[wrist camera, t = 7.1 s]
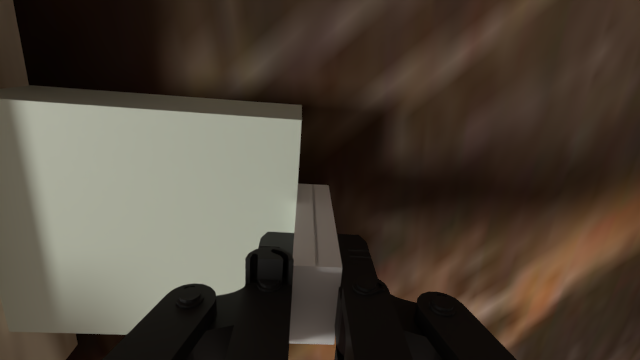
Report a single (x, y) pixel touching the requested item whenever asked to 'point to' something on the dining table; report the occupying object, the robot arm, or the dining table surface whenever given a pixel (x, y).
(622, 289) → the dining table surface
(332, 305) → the robot arm
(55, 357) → the oak board
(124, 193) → the sage block
